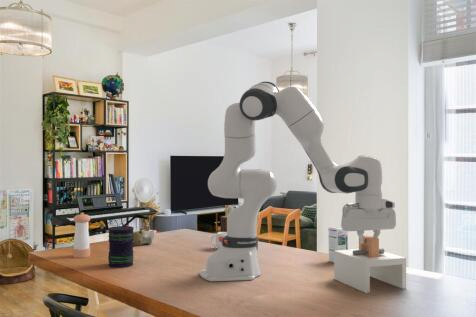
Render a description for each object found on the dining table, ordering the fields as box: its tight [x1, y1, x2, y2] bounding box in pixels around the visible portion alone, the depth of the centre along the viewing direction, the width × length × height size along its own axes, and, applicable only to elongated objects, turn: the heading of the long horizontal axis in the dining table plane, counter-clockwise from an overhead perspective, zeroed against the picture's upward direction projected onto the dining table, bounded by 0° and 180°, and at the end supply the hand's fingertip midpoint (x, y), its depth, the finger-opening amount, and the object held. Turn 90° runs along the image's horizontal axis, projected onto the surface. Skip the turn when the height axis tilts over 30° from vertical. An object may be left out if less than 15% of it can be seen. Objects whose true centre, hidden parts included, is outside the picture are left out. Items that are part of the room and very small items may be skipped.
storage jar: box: [107, 225, 135, 269], centre depth 169 cm, size 10×10×15 cm
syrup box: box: [328, 226, 349, 264], centre depth 178 cm, size 6×6×14 cm
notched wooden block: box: [358, 234, 380, 268], centre depth 144 cm, size 3×7×10 cm, turn 19°
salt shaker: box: [72, 212, 91, 259], centre depth 185 cm, size 7×7×19 cm
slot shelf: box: [333, 247, 407, 294], centre depth 144 cm, size 16×18×12 cm
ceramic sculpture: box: [133, 228, 155, 246], centre depth 213 cm, size 11×9×15 cm
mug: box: [210, 231, 227, 250], centre depth 205 cm, size 12×8×8 cm
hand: (368, 243), depth 144 cm, fingers closed on notched wooden block, 3 cm apart
